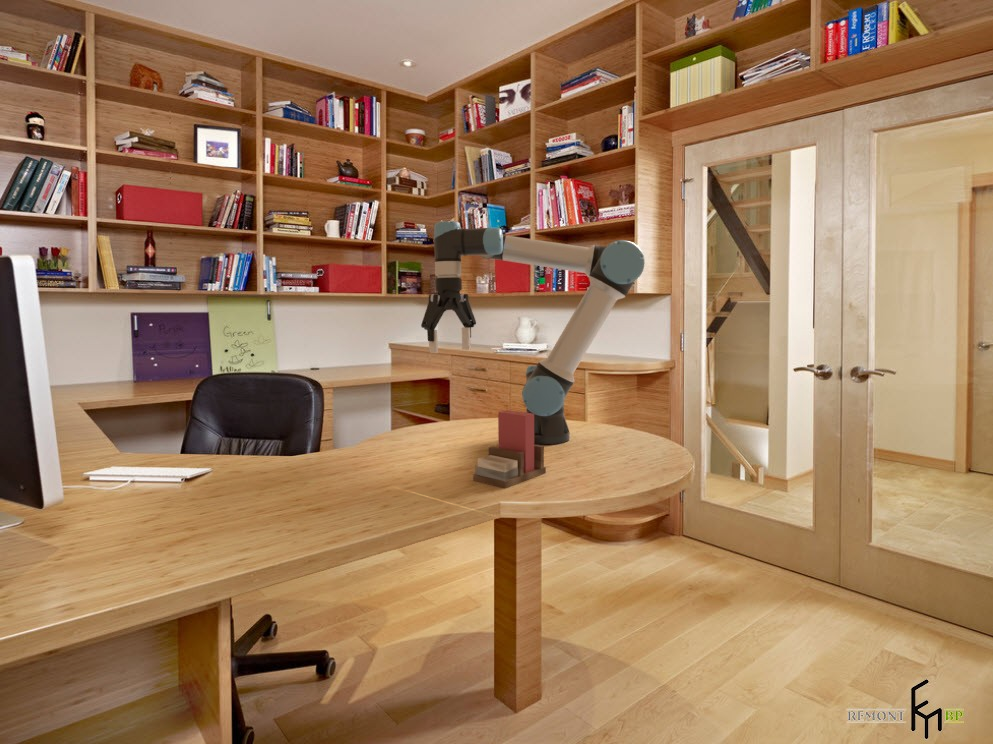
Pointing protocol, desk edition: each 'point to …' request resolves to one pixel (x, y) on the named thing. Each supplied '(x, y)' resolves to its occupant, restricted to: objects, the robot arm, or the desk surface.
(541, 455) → the book stand
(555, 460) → the desk surface
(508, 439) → the book
